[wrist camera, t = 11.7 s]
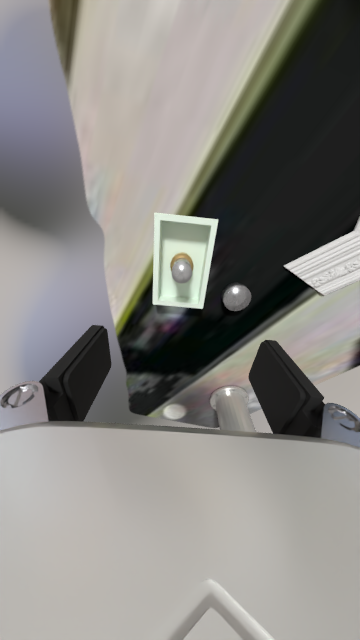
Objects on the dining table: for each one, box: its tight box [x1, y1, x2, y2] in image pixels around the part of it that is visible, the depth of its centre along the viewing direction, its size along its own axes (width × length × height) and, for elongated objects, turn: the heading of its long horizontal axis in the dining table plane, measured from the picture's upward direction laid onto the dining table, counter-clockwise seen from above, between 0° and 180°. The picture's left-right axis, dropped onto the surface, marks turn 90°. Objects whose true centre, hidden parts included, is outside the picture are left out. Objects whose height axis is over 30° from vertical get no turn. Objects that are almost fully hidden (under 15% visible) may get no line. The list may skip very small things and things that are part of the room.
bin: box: [153, 213, 218, 309], centre depth 35 cm, size 17×11×4 cm, turn 175°
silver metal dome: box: [221, 282, 251, 311], centre depth 39 cm, size 6×6×2 cm
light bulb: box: [170, 252, 194, 283], centre depth 32 cm, size 5×5×9 cm
